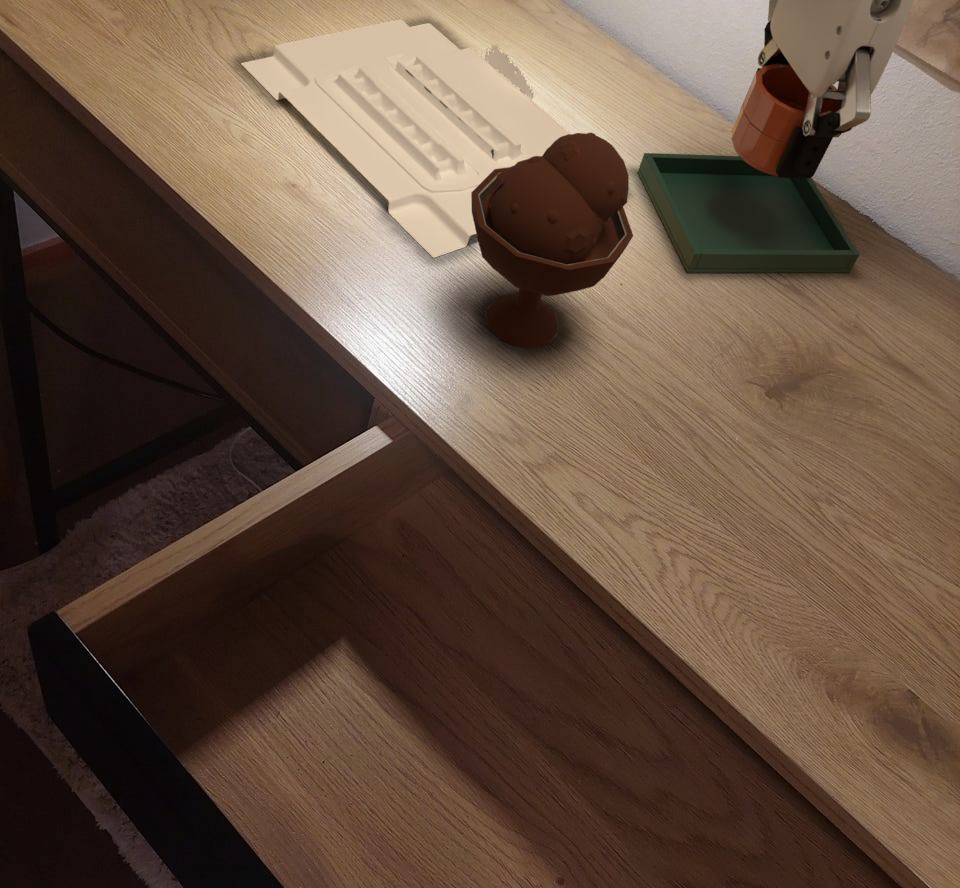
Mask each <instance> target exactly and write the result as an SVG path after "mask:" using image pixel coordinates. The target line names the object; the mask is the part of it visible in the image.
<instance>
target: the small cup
mask: <svg viewBox="0 0 960 888" xmlns="http://www.w3.org/2000/svg"><path fill="white" fill-rule="evenodd" d="M760 68H761V69H760V70H759V71H758V72H757V73H756V72H755V74H756V75H755V74H754V76H755V77H754V76H753V79H754V80H753V79H752V81H753V82H752V81H751V83H752V84H750V86H751V87H750V86H749V88H750V89H749V88H748V90H749V91H748V90H747V93H748V94H747V93H746V95H747V96H745V97H746V98H745V97H744V100H745V101H744V100H743V102H744V103H743V102H742V105H743V106H742V105H741V107H742V108H741V107H740V109H741V110H740V109H739V110H740V111H739V113H738V115H737V116H736V117H737V118H736V119H735V123H734V125H733V127H732V129H731V141H732V145H733V149H734V151H735V153H736V154H737V156H740V158H741V159H743V160H744V161H745V162H746V163H747V164H749V165H750V166H752V167H754V168H755V169H757V170H759V171H762V172H764V173H767V174H770V175H774V176H778V175H777V173H776V168H777V166H778V164H779V161H780V159H781V157H782V155H783V153H784V151H785V149H786V147H787V145H788V142H789V140H790V138H791V136H792V134H793V132H794V130H795V128H796V127H800V128H802V127H803V121H804V116H805V111H806V105H807V100H808V95H809V91H808V89H807V88H806V87H805V85H804V84H803V83H802V81H801V80H800V78H799V77H798V75H797V74H796V72H795V71H794V70H793V68H792V67H791V65H788V64H771V65H767V66H763V67H760ZM837 89H838V88H837V87H836V86H835V85H832V84H830V86H829V88H828V90H837ZM832 105H833V99H823V101H822V107H821V112H820V116H823V115H826V114H828V113H831V110H832Z"/></svg>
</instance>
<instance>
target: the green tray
mask: <svg viewBox="0 0 960 888" xmlns="http://www.w3.org/2000/svg"><path fill="white" fill-rule="evenodd" d="M637 173H638V176H639V178H640V180H641V182H642V184H643V186H644V188H645V190H646V192H647V194H648V196H649V199H650V200H651V203H652V204H653V206H654V208H655V210H656V213H657V214H658V216H659V218H660V221H661V222H662V225H663V226H664V229H665V230H666V233H667V235H668V237H669V239H670V241H671V243H672V245H673V247H674V248H675V251H676V254H677V255H678V257H679V259H680V261H681V263H682V265H683V267H684V270H685V271H686V273H687V274H689V273H692V274H693V273H695V274H696V273H697V274H698V273H699V274H700V273H703V274H704V273H705V274H707V273H709V274H711V273H713V274H714V273H715V274H717V273H718V274H719V273H720V274H721V273H726V274H728V273H729V274H730V273H732V274H736V273H737V274H739V273H740V274H741V273H745V274H746V273H747V274H748V273H749V274H750V273H755V274H757V273H758V274H759V273H764V274H765V273H766V274H768V273H769V274H770V273H772V274H775V273H793V274H795V273H798V274H799V273H801V274H802V273H807V274H809V273H813V274H815V273H816V274H817V273H819V274H820V273H829V274H830V273H835V274H837V273H838V274H839V273H843V274H844V273H847V274H849V273H851V271H852V269H853V268H854V266H855V264H856V263H857V261H858V259H859V257H860V255H861V254H860V252H859V251H858V249H857V248H856V246H855V245H854V243H853V241H852V240H851V238H850V236H849V235H848V233H847V231H846V230H845V228H844V226H842V224H841V222H840V221H839V219H838V218H837V216H836V214H835V213H834V211H833V210H832V207H831V206H830V205H829V203H828V201H827V200H826V199H825V197H824V195H823V194H822V191H820V189H819V188H818V186H817V184H816V183H815V181H814V180H813V177H811V178H809V179H804V178H780V177H779V176H774V175H770V174H767V173H764V172H762V171H759V170H757V169H755V168H754V167H752V166H750V165H749V164H747V163H746V162H745V161H744V160H743V159H741V158H740V156H739V155H717V154H716V155H715V154H714V155H713V154H693V153H692V154H689V153H687V154H686V153H663V152H661V153H659V152H658V153H657V152H656V153H655V152H644V153H643V155H642V158H641V161H640V165H639V168H638V169H637Z"/></svg>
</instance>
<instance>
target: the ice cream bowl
mask: <svg viewBox="0 0 960 888" xmlns="http://www.w3.org/2000/svg"><path fill="white" fill-rule="evenodd" d="M629 177H630V176H629V173H628V169H627V166H626V163H625V160H624V159H623V158H622V156H621V155H620V154H619V152H618V151H617V149H616V148H615V147H614V145H613V144H612V143H610V142H608V141H607V140H606V139H604V138H603V137H601V136H599V135H596V134H595V133H594V132H587V133H585V132H584V133H582V132H575V133H570V134H568V135H565V136H562V137H560V138H558V139H557V140H556V141H554V143H553V144H552V145H551V146H550V147H549V148H547V150H546V151H545V153H544V154H543V156H534V157H531V158H530V159H526V160H523V161H520V162H517V163H516V164H515V165H514V166H511V167H507V168H500V169H494V170H493V171H492V172H491V173H490V174H489V175H488V176H487V177H486V178H485V179H484V180H483V181H482V182H481V183H480V184H479V185H478V186H477V187H476V188H475V189H474V190H473V191H472V193H471V200H472V216H473V220H474V225H475V229H476V234H475V235H476V238H477V242H478V246H479V250H480V253H481V257H482V258H483V259H484V261H485V262H486V263H487V264H488V265H489V266H490V267H491V268H492V269H493V270H494V271H495V272H496V273H498V274H499V275H500V276H502V277H503V278H504V279H505V280H506V281H508V282H509V283H510V284H511V285H513V287H514V288H517V289H518V290H517V291H513V292H509V293H504V294H498V295H497V297H496V298H494V300H493V301H492V302H491V304H490V305H489V306H488V308H487V309H486V310H485V311H484V312H485V317H486V321H487V327H488V329H489V330H490V331H491V332H492V333H494V335H496V336H497V337H498V338H500V339H501V340H502V341H504V343H506V344H509V345H515V346H518V347H522V348H525V349H532V348H535V347H541V346H546V345H549V344H550V343H551V342H552V340H554V338H555V337H556V335H557V334H558V333H559V323H558V319H557V316H556V312H555V309H553V307H551V306H550V305H549V304H548V303H546V302H545V301H544V300H543V299H542V297H543V296H547V297H553V296H558V295H562V294H569V293H573V292H579V291H582V290H585V289H589V288H593V287H595V286H596V285H597V284H598V283H599V282H601V281H602V280H603V279H604V278H605V277H606V276H607V274H608V273H609V272H610V270H611V269H612V268H613V266H614V265H615V263H616V262H617V261H618V260H619V258H620V257H621V255H622V254H623V253H624V252H625V250H626V249H627V247H628V245H629V244H630V242H631V240H632V239H633V237H634V234H633V231H632V229H631V225H630V221H629V219H628V217H627V214H626V211H625V208H624V206H625V205H626V204H627V203H628V197H629V190H630V189H629V186H630V183H629V179H630V178H629Z"/></svg>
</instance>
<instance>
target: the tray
mask: <svg viewBox="0 0 960 888" xmlns="http://www.w3.org/2000/svg"><path fill="white" fill-rule="evenodd" d="M500 49H501V48H500V47H499V46H498V45H497V44H495V45H494V44H493V45H491V47H490V48H486V49H485V55H484V57H483V53H481V55H480V54H479V53H478V52H477V51H476V50H475V49H473V47H466V48H462V49H460V48H459V47H458V46H456V45H455V43H453V42H452V41H450V40H449V38H447V37H446V36H445V35H444V34H443V33H442V32H441V31H439V30H438V29H437V28H436V27H435V26H433V24H432V23H430V22H426V23H422V24H418V25H413V26H409V24H407V23H406V22H405V21H404V20H403V19H401V18H399V19H396V20H395V19H394V20H390V21H384V22H380V23H376V24H371V25H366V26H365V25H364V26H361V27H360V26H359V27H356V28H351V29H346V30H342V31H338V32H332V33H327V34H323V35H322V34H321V35H318V36H313V37H308V38H307V37H306V38H303V39H299V40H293V41H290V42H285V43H284V42H283V43H279V44H276V45H275V46H274V48H273V53H272V55H271V56H268V57H263V58H259V59H258V58H257V59H254V60H249V61H245V62H241V63H240V65H241V66H242V67H243V68H244V69H245V70H246V71H247V72H248V73H249V74H250V75H251V76H252V77H253V78H254V79H255V80H256V81H257V82H258V84H260V85H261V86H262V87H263V88H264V89H265V90H266V91H267V92H268V93H269V94H270V95H271V96H272V97H273V98H274V99H275V100H276V101H279V100H283V99H284V100H285V99H286V100H287V101H288V102H289V103H290V104H291V105H292V106H293V107H294V108H295V109H296V110H297V111H298V112H299V113H300V114H301V115H302V116H303V117H304V118H305V119H306V120H307V121H308V122H309V123H310V125H312V126H313V127H314V128H315V129H316V130H317V132H318V133H320V134H321V135H322V136H323V137H324V138H325V139H326V140H327V141H328V142H329V143H330V144H331V145H332V146H333V147H334V148H335V149H336V150H337V151H338V152H339V153H340V154H341V155H342V156H343V157H344V158H345V159H346V161H348V162H349V163H350V164H351V165H352V166H353V167H354V168H355V169H356V170H357V171H358V172H359V173H360V174H361V175H362V176H363V177H364V178H365V179H366V180H367V181H368V182H369V183H370V184H371V185H372V186H373V187H374V188H375V189H376V190H377V191H378V192H379V193H380V194H381V195H382V196H383V197H384V198H385V199H386V200H387V202H388V207H387V208H388V209H387V210H388V214H389V215H390V216H391V217H392V218H393V219H394V220H395V221H396V222H397V223H398V224H399V226H401V228H403V230H404V231H406V233H408V234H409V235H410V236H411V237H412V239H413V240H415V242H417V243H418V244H419V245H420V246H421V247H422V248H423V249H424V250H425V251H426V252H427V253H428V254H429V255H430V256H431V257H432V258H433V259H435V258H438V257H440V256H443V255H446V254H449V253H452V252H455V251H458V250H460V249H465V248H466V247H467V246H468V244H469V240H470V238H471V236H473V235H477V234H476V229H475V225H474V220H473V216H472V200H471V193H472V191H473V190H474V189H475V188H476V187H477V186H478V185H479V184H480V183H481V182H482V181H483V180H484V179H485V178H486V177H487V176H488V175H489V174H490V173H491V172H492V171H493V170H494V169H500V168H507V167H511V166H514V165H515V164H516V163H517V162H520V161H523V160H526V159H530V158H531V157H534V156H543V154H544V153H545V151H546V150H547V148H549V147H550V146H551V145H552V144H553V143H554V141H556V140H557V139H558V138H560V137H562V136H565V135H568V134H571V133H570V132H569V131H568V130H567V129H565V127H563V126H562V125H561V124H560V122H558V121H557V120H555V119H554V118H553V117H552V116H551V115H550V114H548V113H547V112H546V111H545V110H544V109H543V108H541V106H539V105H538V104H537V103H535V101H534V100H533V98H534V92H532V91H533V89H532V88H533V87H532V86H531V85H529V84H528V83H527V79H526V76H524V73H523V72H522V71H521V70H520V68H519V67H518V65H515V63H514V61H512V62H511V60H510V58H509V57H508V56H509V54H506V53H505V52H501V51H500Z"/></svg>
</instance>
